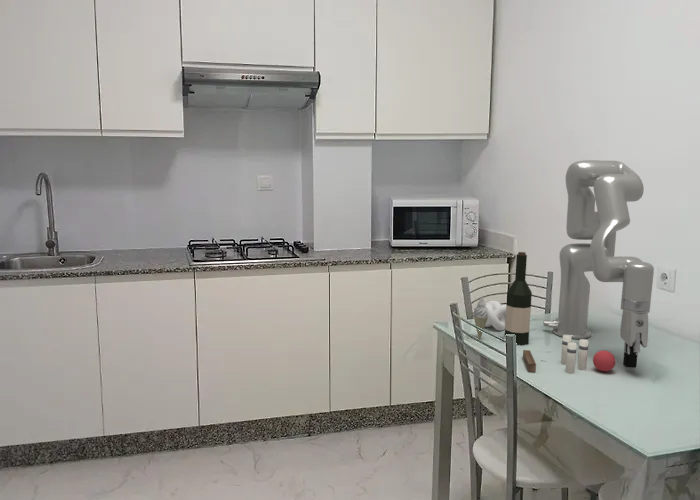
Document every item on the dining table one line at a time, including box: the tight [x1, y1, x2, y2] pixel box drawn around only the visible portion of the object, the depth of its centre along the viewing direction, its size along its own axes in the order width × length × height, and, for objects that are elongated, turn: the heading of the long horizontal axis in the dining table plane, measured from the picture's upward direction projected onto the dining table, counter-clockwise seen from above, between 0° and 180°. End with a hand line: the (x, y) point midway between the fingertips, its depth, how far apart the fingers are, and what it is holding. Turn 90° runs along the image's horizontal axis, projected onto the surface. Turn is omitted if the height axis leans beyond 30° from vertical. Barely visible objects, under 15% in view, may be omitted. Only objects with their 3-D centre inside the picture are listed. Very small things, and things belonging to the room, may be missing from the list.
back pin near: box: [565, 341, 577, 374], centre depth 172 cm, size 2×2×8 cm
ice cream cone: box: [473, 295, 489, 340], centre depth 200 cm, size 5×5×15 cm
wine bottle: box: [504, 251, 533, 346], centre depth 197 cm, size 8×8×30 cm
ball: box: [592, 350, 616, 373], centre depth 174 cm, size 6×6×6 cm
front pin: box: [576, 338, 589, 371], centre depth 175 cm, size 2×2×8 cm
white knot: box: [484, 300, 506, 332], centre depth 214 cm, size 11×12×9 cm
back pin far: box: [560, 335, 572, 366], centre depth 179 cm, size 2×2×8 cm
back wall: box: [522, 349, 537, 373], centre depth 178 cm, size 2×12×2 cm, turn 171°
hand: (629, 366), depth 174 cm, fingers closed
